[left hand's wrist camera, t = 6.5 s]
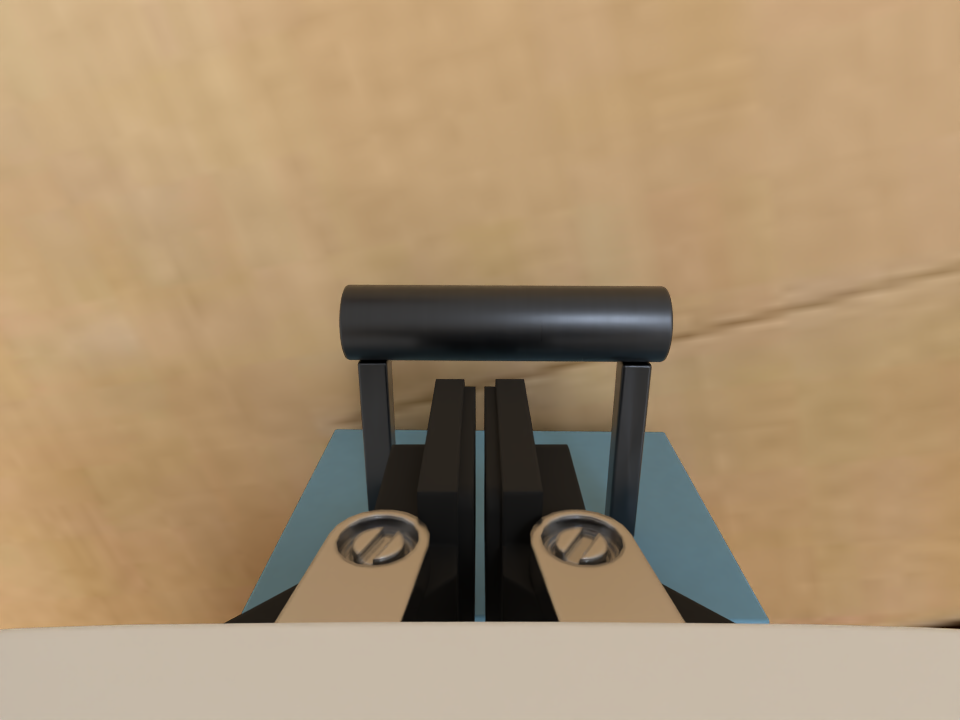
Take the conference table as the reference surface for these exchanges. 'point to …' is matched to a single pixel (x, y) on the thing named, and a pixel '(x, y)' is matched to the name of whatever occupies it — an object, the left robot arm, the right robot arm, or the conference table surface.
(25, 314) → the conference table surface
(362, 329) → the drawer
